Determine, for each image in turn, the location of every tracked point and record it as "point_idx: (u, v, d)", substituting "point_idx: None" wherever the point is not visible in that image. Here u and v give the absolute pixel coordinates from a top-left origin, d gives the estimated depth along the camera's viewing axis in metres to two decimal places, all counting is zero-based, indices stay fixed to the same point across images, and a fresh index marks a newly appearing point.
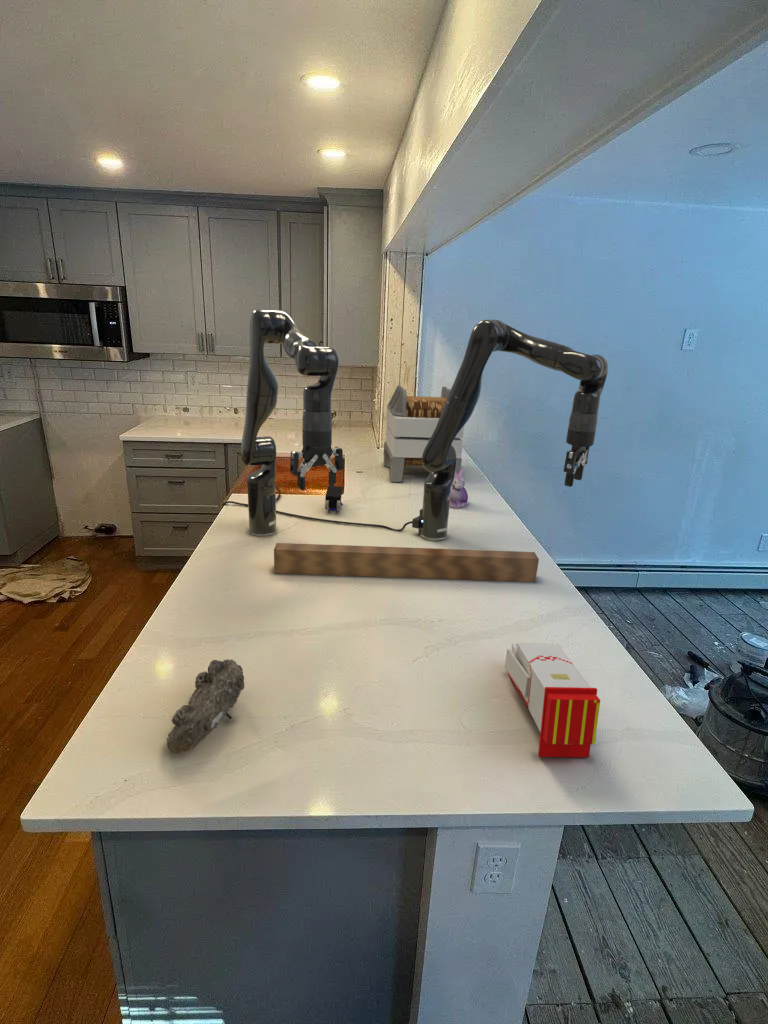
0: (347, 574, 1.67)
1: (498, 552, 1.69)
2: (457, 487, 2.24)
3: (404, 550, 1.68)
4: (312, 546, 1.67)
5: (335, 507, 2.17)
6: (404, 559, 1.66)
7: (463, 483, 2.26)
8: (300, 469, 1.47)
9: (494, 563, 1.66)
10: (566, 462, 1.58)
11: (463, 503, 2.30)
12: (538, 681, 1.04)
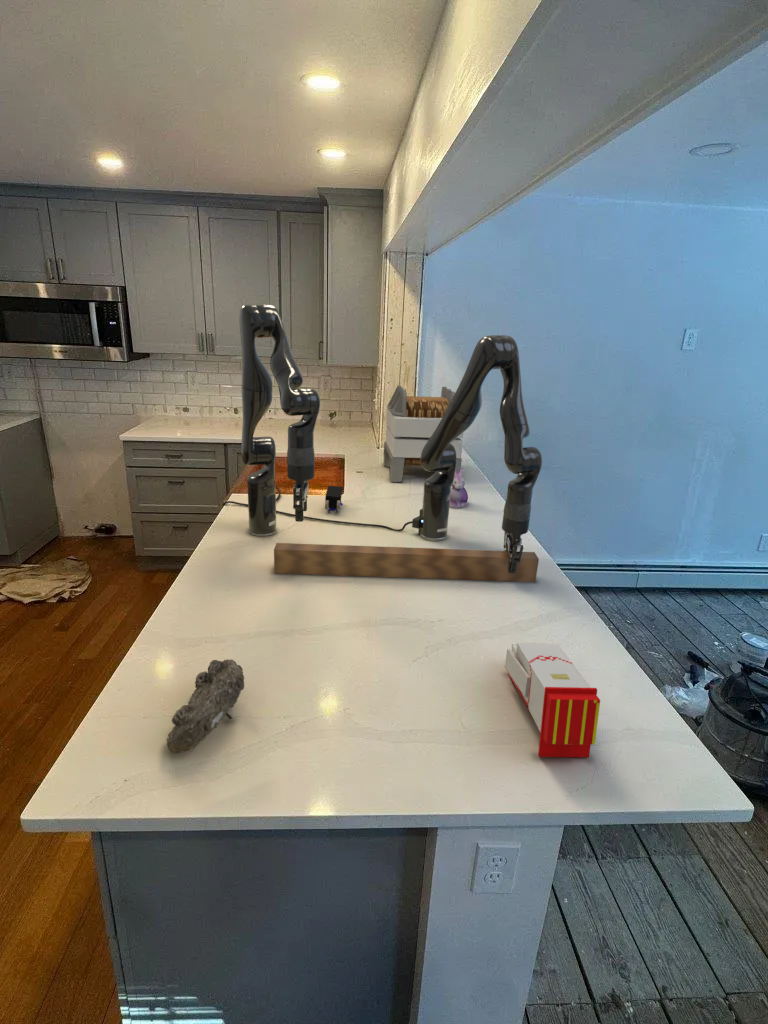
0: (347, 574, 1.67)
1: (498, 552, 1.69)
2: (457, 487, 2.24)
3: (404, 550, 1.68)
4: (312, 546, 1.67)
5: (335, 507, 2.17)
6: (404, 559, 1.66)
7: (463, 483, 2.26)
8: (296, 503, 1.57)
9: (494, 563, 1.66)
10: (514, 555, 1.61)
11: (463, 503, 2.30)
12: (538, 681, 1.04)
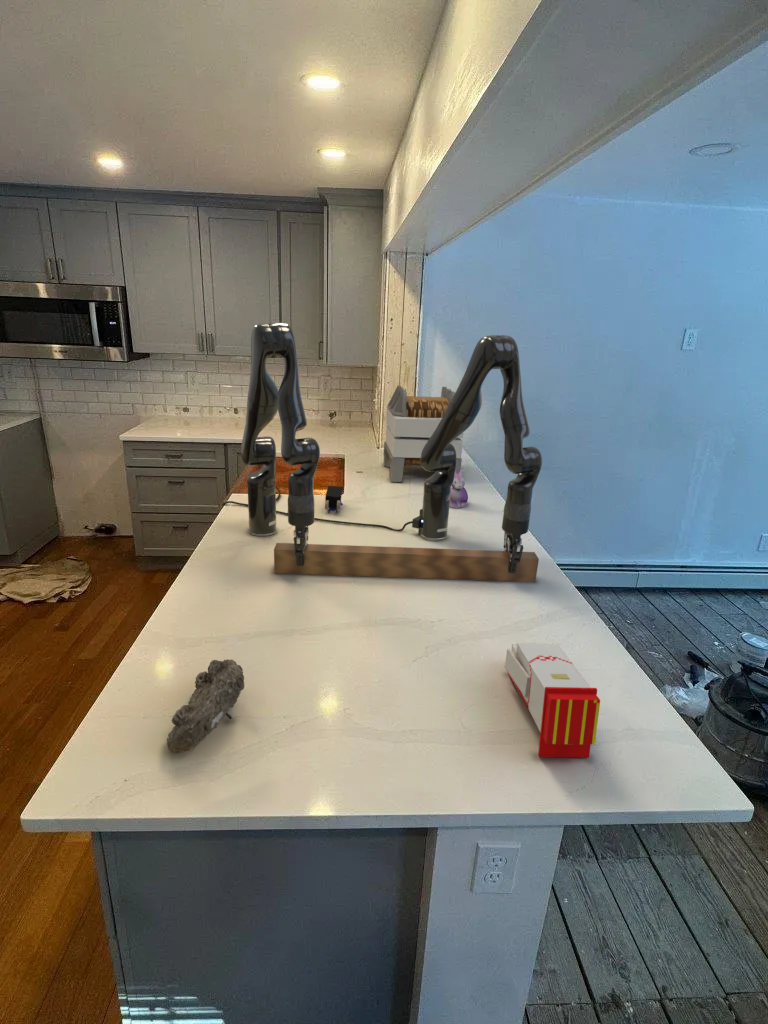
0: (347, 574, 1.67)
1: (498, 552, 1.69)
2: (457, 487, 2.24)
3: (404, 550, 1.68)
4: (312, 546, 1.67)
5: (335, 507, 2.17)
6: (404, 559, 1.66)
7: (463, 483, 2.26)
8: (297, 548, 1.63)
9: (494, 563, 1.66)
10: (514, 555, 1.61)
11: (463, 503, 2.30)
12: (538, 681, 1.04)
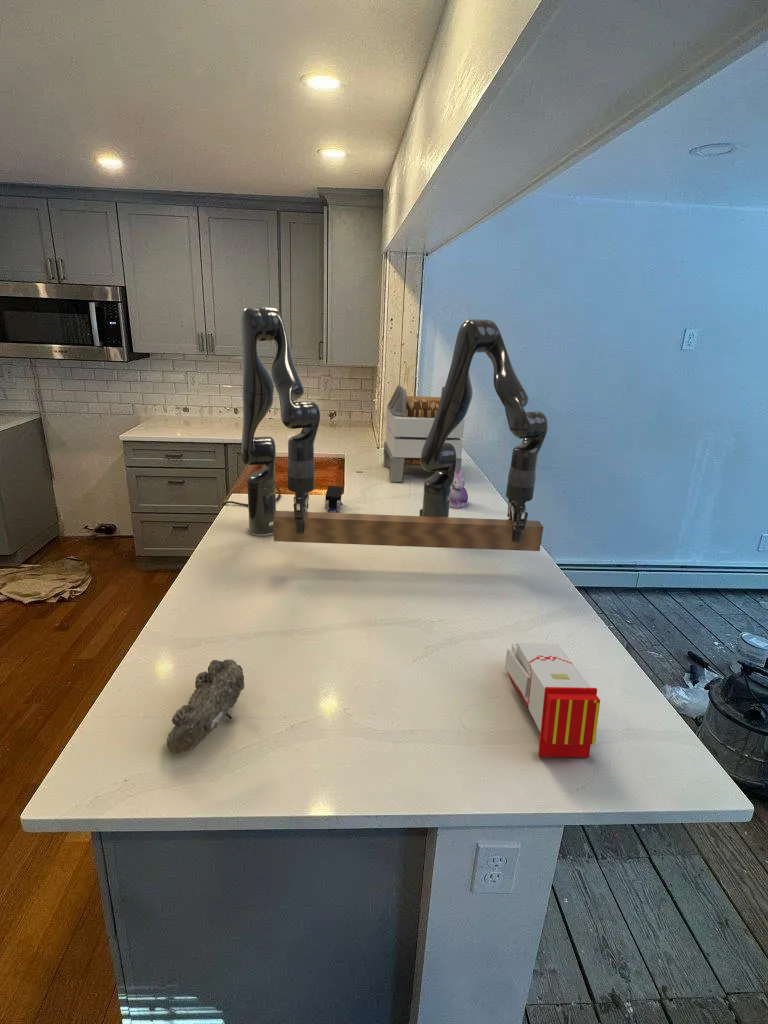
0: (348, 542, 1.64)
1: (501, 520, 1.66)
2: (457, 487, 2.24)
3: (406, 518, 1.64)
4: (312, 514, 1.64)
5: (335, 507, 2.17)
6: (406, 527, 1.62)
7: (463, 483, 2.26)
8: (297, 516, 1.60)
9: (497, 531, 1.63)
10: (518, 522, 1.58)
11: (463, 503, 2.30)
12: (538, 681, 1.04)
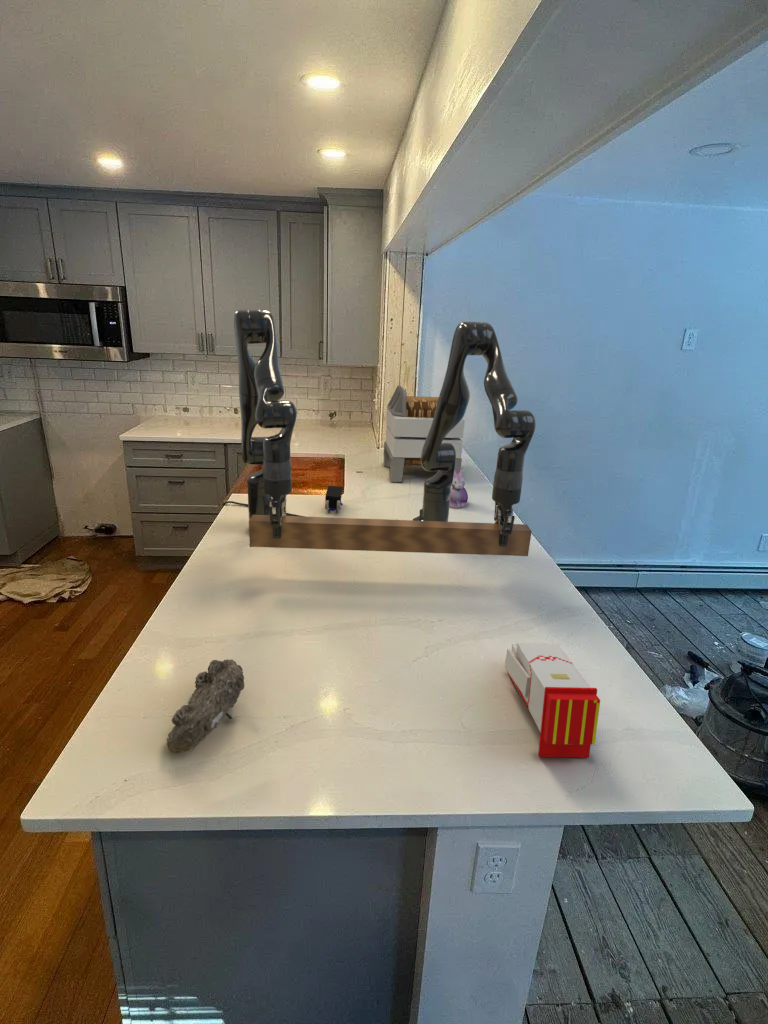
0: (327, 548, 1.57)
1: (488, 524, 1.59)
2: (457, 487, 2.24)
3: (388, 522, 1.57)
4: (290, 518, 1.57)
5: (335, 507, 2.17)
6: (388, 532, 1.55)
7: (463, 483, 2.26)
8: (273, 520, 1.53)
9: (483, 535, 1.56)
10: (505, 526, 1.51)
11: (463, 503, 2.30)
12: (538, 681, 1.04)
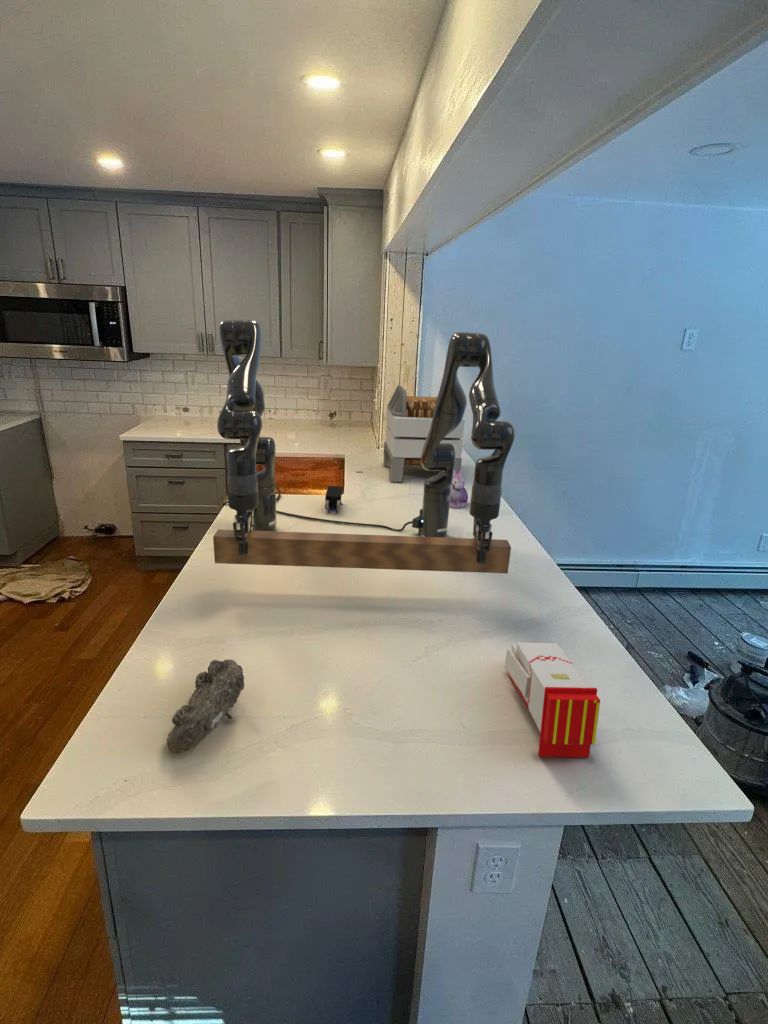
0: (296, 564, 1.49)
1: (466, 539, 1.51)
2: (457, 487, 2.24)
3: (360, 537, 1.50)
4: (257, 533, 1.49)
5: (335, 507, 2.17)
6: (360, 548, 1.48)
7: (463, 483, 2.26)
8: (239, 535, 1.45)
9: (460, 552, 1.48)
10: (482, 543, 1.43)
11: (463, 503, 2.30)
12: (538, 681, 1.04)
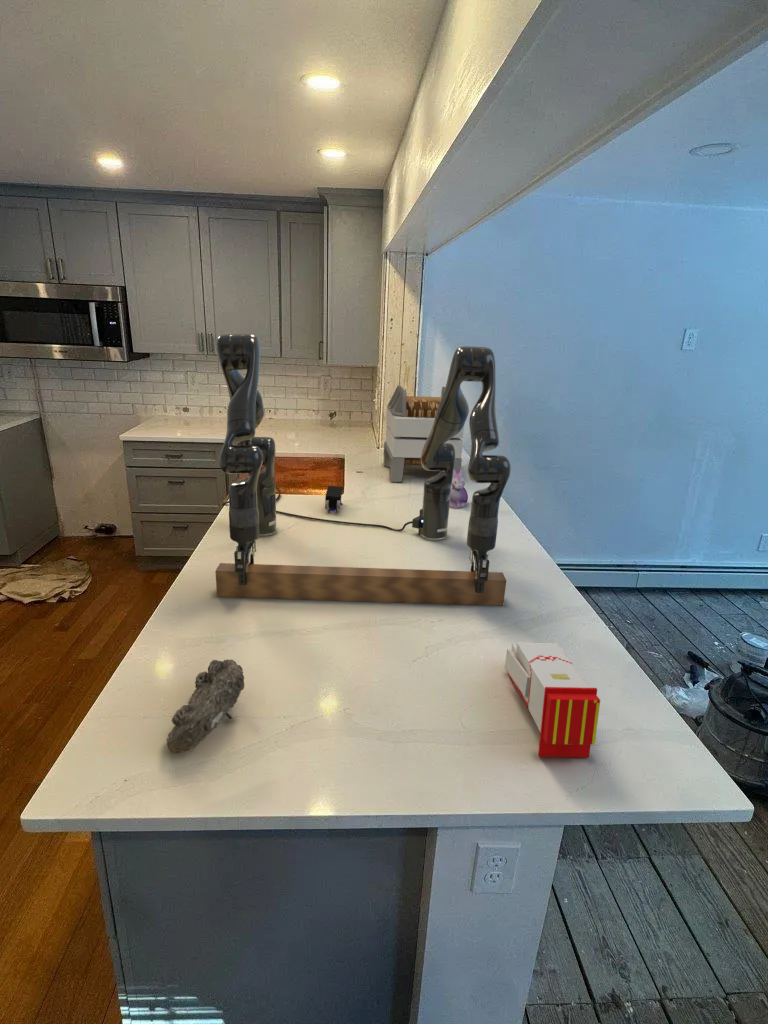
0: (297, 597, 1.52)
1: (462, 573, 1.55)
2: (457, 487, 2.24)
3: (359, 570, 1.53)
4: (258, 567, 1.52)
5: (335, 507, 2.17)
6: (358, 582, 1.51)
7: (463, 483, 2.26)
8: (239, 566, 1.47)
9: (457, 585, 1.52)
10: (480, 572, 1.45)
11: (463, 503, 2.30)
12: (538, 681, 1.04)
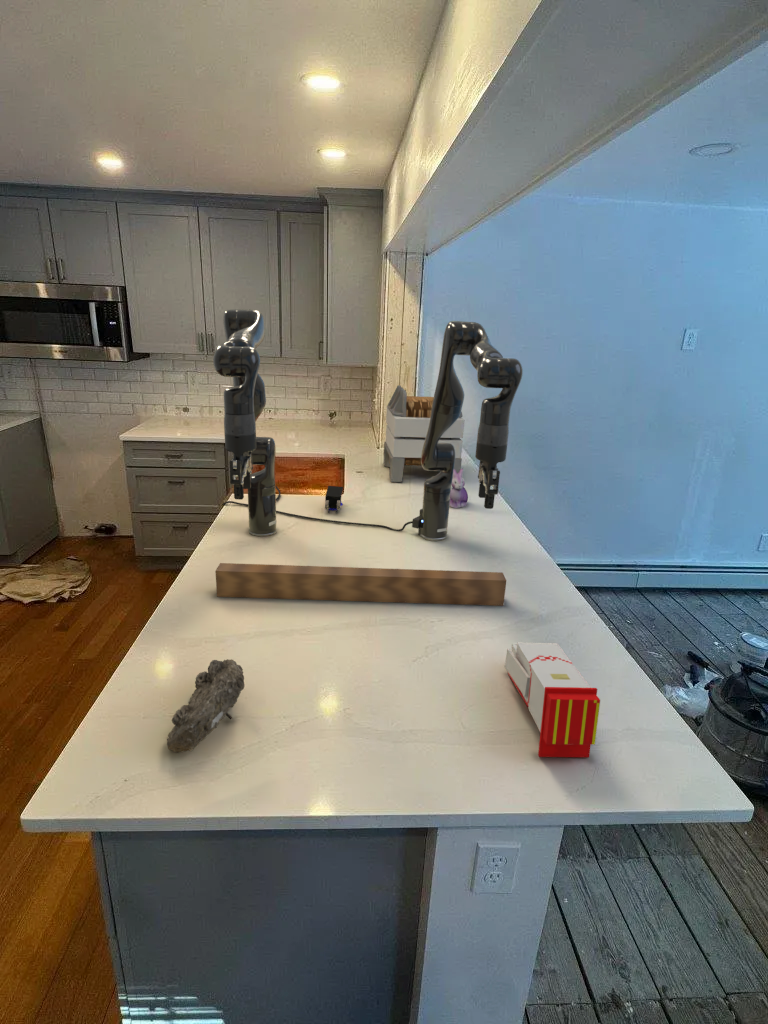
0: (297, 597, 1.52)
1: (462, 573, 1.55)
2: (457, 487, 2.24)
3: (359, 570, 1.53)
4: (258, 567, 1.52)
5: (335, 507, 2.17)
6: (358, 582, 1.51)
7: (463, 483, 2.26)
8: (234, 478, 1.39)
9: (457, 585, 1.52)
10: (490, 483, 1.37)
11: (463, 503, 2.30)
12: (538, 681, 1.04)
